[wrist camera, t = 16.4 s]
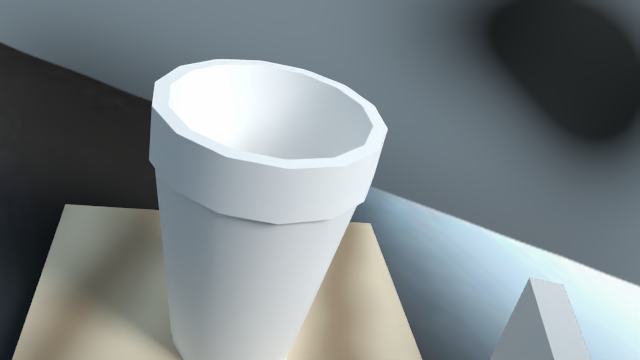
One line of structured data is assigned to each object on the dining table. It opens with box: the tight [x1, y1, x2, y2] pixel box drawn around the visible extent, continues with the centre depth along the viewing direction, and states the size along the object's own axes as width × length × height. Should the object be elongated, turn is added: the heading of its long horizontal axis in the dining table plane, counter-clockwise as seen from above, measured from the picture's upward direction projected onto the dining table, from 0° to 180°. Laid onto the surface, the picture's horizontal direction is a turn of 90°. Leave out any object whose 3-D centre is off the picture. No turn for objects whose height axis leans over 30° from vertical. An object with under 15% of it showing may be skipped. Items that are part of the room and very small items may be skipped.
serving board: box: [12, 204, 422, 360], centre depth 30 cm, size 20×20×2 cm
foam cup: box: [149, 59, 388, 360], centre depth 27 cm, size 10×9×13 cm
